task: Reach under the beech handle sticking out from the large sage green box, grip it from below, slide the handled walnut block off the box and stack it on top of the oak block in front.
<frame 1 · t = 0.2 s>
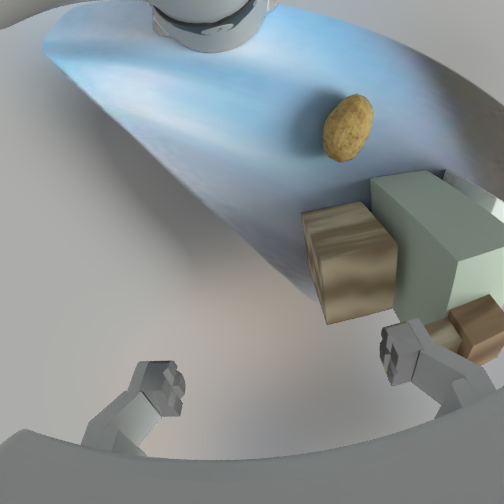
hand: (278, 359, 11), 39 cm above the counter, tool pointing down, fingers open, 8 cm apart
skincare box: (447, 190, 48), on the counter
potato: (340, 124, 42), on the counter
large sage green box: (399, 223, 51), on the counter
walnut handle block: (465, 318, 29), point 26 cm above the counter, touching large sage green box
low oak block: (334, 236, 52), on the counter
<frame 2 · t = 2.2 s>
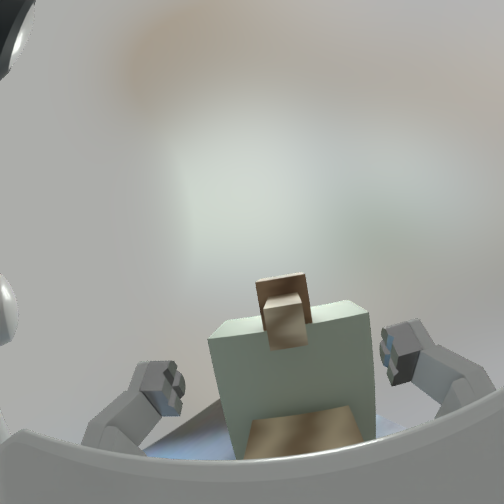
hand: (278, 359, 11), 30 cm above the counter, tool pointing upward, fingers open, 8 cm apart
large sage green box: (308, 461, 39), on the counter
walnut handle block: (287, 321, 38), point 26 cm above the counter, touching large sage green box
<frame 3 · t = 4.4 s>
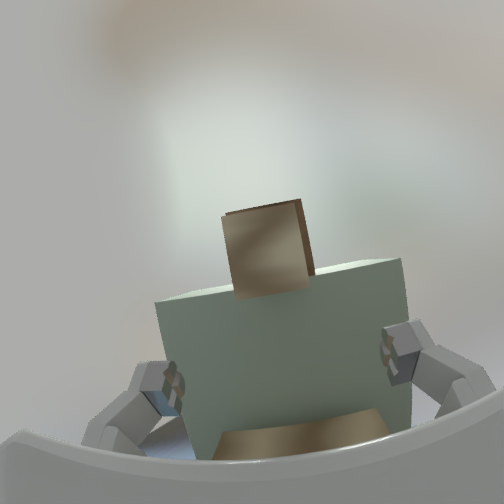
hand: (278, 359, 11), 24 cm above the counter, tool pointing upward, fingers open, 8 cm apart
large sage green box: (310, 484, 26), on the counter
walnut handle block: (277, 279, 26), point 26 cm above the counter, touching large sage green box
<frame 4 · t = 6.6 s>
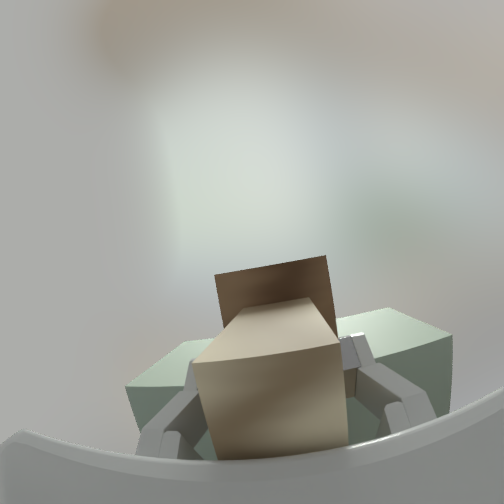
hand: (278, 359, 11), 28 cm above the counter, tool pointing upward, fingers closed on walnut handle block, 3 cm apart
walnut handle block: (287, 353, 19), point 26 cm above the counter, touching gripper, large sage green box
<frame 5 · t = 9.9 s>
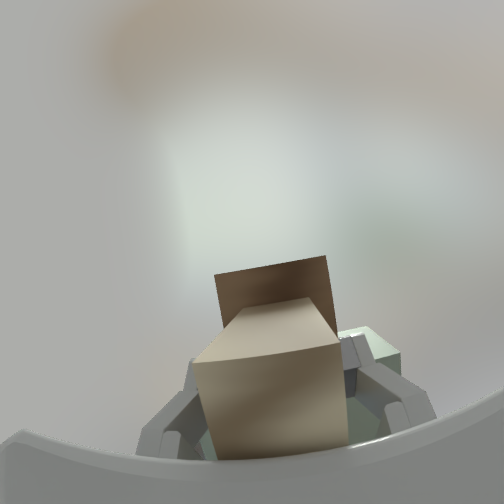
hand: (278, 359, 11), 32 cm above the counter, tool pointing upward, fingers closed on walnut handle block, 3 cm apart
walnut handle block: (287, 353, 19), point 30 cm above the counter, touching gripper
when the fingers open (19 cm above the counter, at t = 13.3 s): walnut handle block drops 2 cm, resting on low oak block.
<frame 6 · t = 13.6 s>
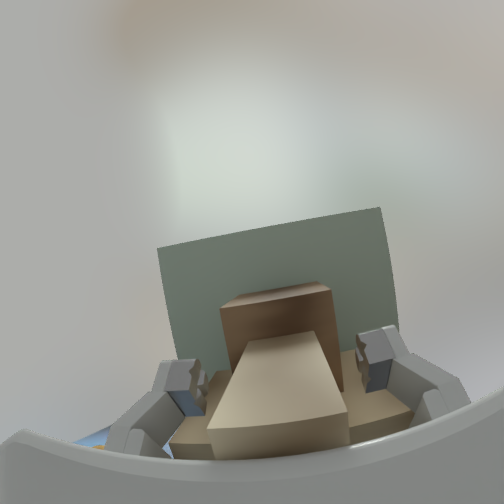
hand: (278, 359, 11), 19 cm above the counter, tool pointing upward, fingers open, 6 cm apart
large sage green box: (305, 448, 29), on the counter
walnut handle block: (290, 378, 18), point 15 cm above the counter, touching low oak block
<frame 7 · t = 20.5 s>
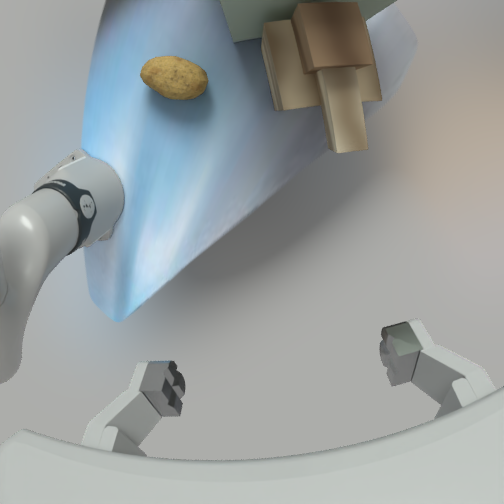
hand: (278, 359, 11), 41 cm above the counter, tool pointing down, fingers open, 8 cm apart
potato: (178, 79, 41), on the counter
large sage green box: (287, 3, 34), on the counter
walnut handle block: (323, 44, 26), point 15 cm above the counter, touching low oak block
low oak block: (304, 73, 40), on the counter
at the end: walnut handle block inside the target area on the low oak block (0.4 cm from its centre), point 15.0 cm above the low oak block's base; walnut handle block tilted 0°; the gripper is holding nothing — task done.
